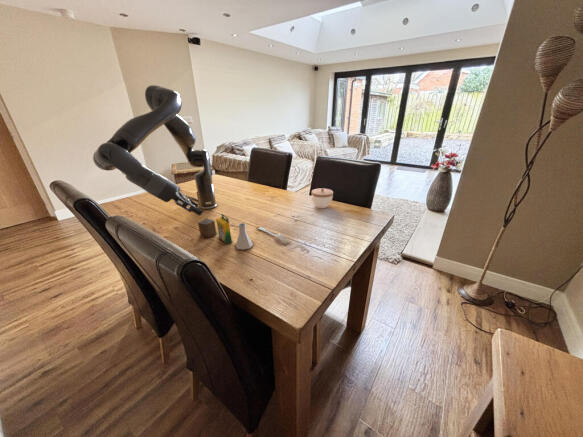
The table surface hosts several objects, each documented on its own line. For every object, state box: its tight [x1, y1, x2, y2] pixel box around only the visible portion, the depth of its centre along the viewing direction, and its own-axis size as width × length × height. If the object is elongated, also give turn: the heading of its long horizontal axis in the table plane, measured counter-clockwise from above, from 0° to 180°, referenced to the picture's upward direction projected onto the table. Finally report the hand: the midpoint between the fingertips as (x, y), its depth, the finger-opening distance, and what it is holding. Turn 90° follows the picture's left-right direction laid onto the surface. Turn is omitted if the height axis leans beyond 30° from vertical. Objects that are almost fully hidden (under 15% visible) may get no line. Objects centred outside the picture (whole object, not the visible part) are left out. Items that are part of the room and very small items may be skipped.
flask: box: [235, 222, 254, 251], centre depth 98 cm, size 7×7×10 cm
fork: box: [257, 226, 290, 245], centre depth 108 cm, size 3×21×3 cm, turn 43°
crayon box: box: [215, 213, 233, 245], centre depth 102 cm, size 7×3×12 cm, turn 39°
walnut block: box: [197, 218, 217, 239], centre depth 108 cm, size 5×5×7 cm
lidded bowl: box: [311, 187, 334, 209], centre depth 138 cm, size 13×13×11 cm
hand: (199, 209), depth 94 cm, fingers open, 8 cm apart
